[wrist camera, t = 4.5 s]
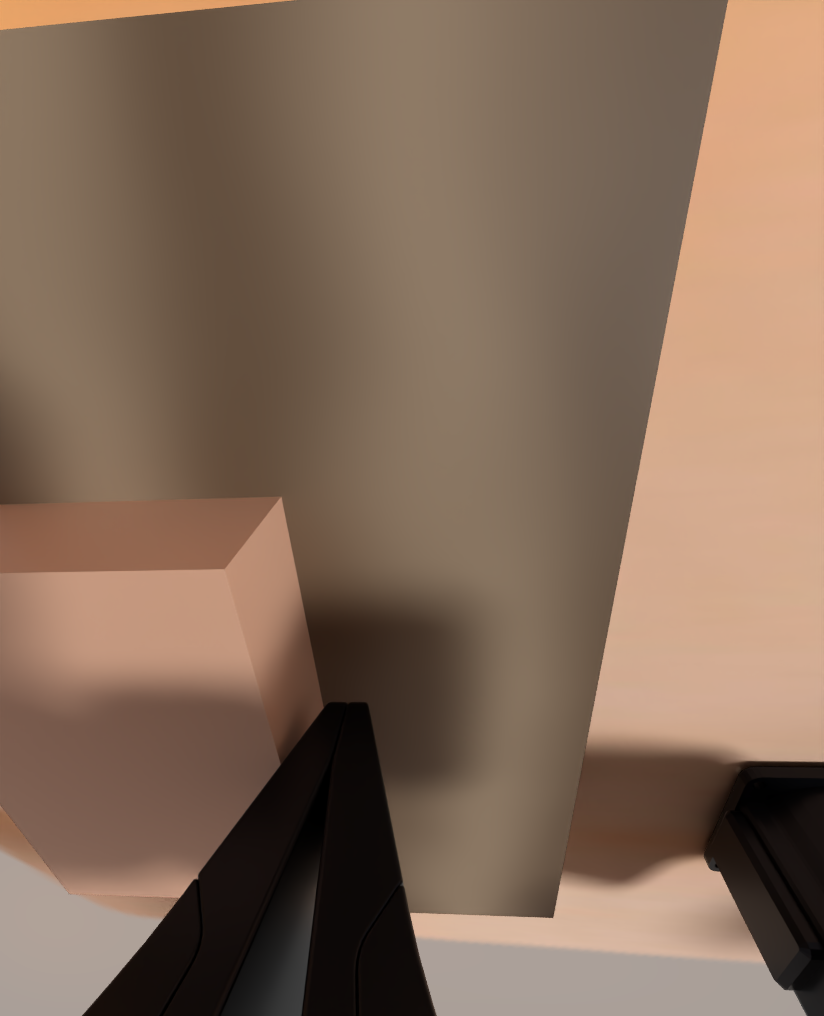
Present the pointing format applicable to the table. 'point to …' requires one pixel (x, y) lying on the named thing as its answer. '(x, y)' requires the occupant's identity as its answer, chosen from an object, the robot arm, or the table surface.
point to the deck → (372, 347)
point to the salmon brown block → (146, 681)
